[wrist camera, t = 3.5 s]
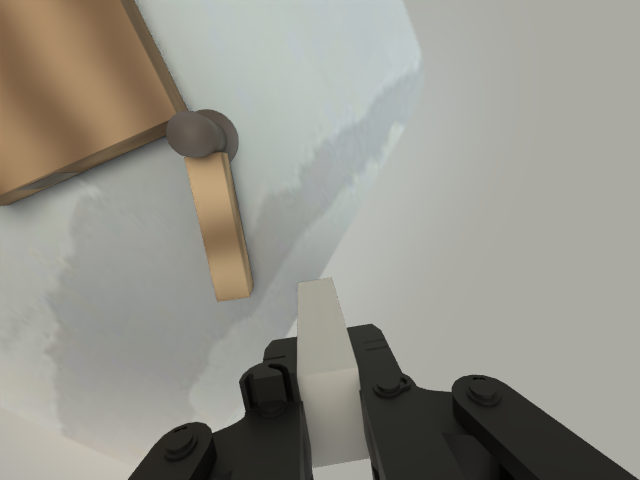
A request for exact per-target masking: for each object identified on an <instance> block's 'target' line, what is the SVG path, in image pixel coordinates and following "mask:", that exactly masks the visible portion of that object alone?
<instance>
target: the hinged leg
mask: <svg viewBox="0 0 640 480" xmlns="http://www.w3.org/2000/svg"><path fill="white" fill-rule="evenodd" d="M166 136H167V140H168V142H169V144H170V146H171V147H172V148H173V149H174V150H175V151H176V152H177V153H179V154H180V155H183V156H186V157H184V158H185V163H186V167H187V171H188V176H189V180H190V185H191V189H192V193H193V198H194V202H195V206H196V211H197V215H198V219H199V224H200V228H201V233H202V237H203V241H204V246H205V250H206V254H207V259H208V263H209V268H210V272H211V276H212V281H213V285H214V289H215V294H216V298H217V302H220V301H226V300H233V299H239V298H246V297H250V294H251V291H252V288H253V286H254V285H253V280H252V275H251V270H250V265H249V260H248V255H247V250H246V245H245V240H244V235H243V230H242V225H241V219H240V214H239V209H238V204H237V199H236V194H235V189H234V184H233V179H232V174H231V169H230V164H229V159H228V154H227V153H222V152H223V151H224V149H225V147H226V135H225V132H224V130H223V129H222V127H221V126H220V125H218V124H217V123H215V122H213V121H211V120H209V119H208V118H206V117H204V116H202V115H200V114H198V113H196V112H193V111H181V112H178V113H176V114H175V115H173V116H172V117H171V119H170V120H169V122H168V124H167V128H166Z"/></svg>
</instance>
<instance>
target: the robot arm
mask: <svg viewBox="0 0 640 480" xmlns="http://www.w3.org/2000/svg"><path fill="white" fill-rule="evenodd" d="M297 322H298V323H297V330H298V331H297V337H292V338H285V339H279V340H273V341H272V342H271V343H270V344H269V345H268V347H267V348H266V349H265V352H264V358H263V363H260V364H258V365H256V366H254V367H252V368H250V369H249V370H248V371H246V372H245V373H244V374H243V375H242V377H241V379H240V381H239V384H240V388H241V393H242V397H243V402H244V406H245V411H246V412H245V416H244V418H242V419H241V420H240V421H238V422H237V423H235V424H233V425H231V426H229V427H226V428H224V429H222V430H219V431H217V432H214V433H212V431H211V428H209V427H208V426H207V425H206V424H204V423H200V422H193V423H186V424H184V425H181V426H179V427H176V428H174V429H173V430H171V431H170V432H168V433H167V434H165V435H164V436H163V437H162V438H161V439H160V440H159V441H158V442H157V443H156V444H155V445H154V446H153V447H152V449H151V450H150V451H149V453H148V454H147V455H146V457H145V458H144V459H143V460H142V462H141V463H140V464H139V466H138V467H137V468H136V469H135V471H134V472H133V473H132V475H131V476H130V477H129V479H128V480H314V479H313V474H312V465H313V468H314V467H321V466H327V465H332V464H338V463H344V462H350V461H356V460H361V459H368V458H369V456H370V460H371V467H372V475H373V480H639V479H637V478H636V477H634V476H633V475H632V474H630V473H629V472H628V471H626V470H625V469H623V468H622V467H621V466H619V465H618V464H616V463H615V462H614V461H612V460H611V459H609V458H608V457H607V456H605V455H604V454H602V453H601V452H600V451H598V450H597V449H595V448H594V447H593V446H591V445H590V444H588V443H587V442H586V441H584V440H583V439H582V438H580V437H579V436H577V435H576V434H575V433H573V432H572V431H570V430H569V429H568V428H566V427H565V426H564V425H562V424H561V423H559V422H558V421H557V420H555V419H554V418H552V417H551V416H550V415H548V414H547V413H545V412H544V411H543V410H541V409H540V408H538V407H537V406H536V405H534V404H533V403H531V402H530V401H529V400H527V399H526V398H524V397H523V396H522V395H520V394H519V393H518V392H516V391H515V390H513V389H512V388H511V387H509V386H508V385H506V384H505V383H503V382H501V381H499V380H497V379H495V378H491V377H488V376H484V375H469V376H463V377H461V378H459V379H458V380H456V381H455V382H454V384H453V386H452V392H444V391H433V390H426V389H423V388H419V387H417V386H416V384H415V382H414V381H413V380H412V379H411V378H410V377H409V376H407V375H405V374H403V373H402V371H401V369H400V368H399V365H398V363H397V361H396V359H395V357H394V355H393V353H392V351H391V349H390V348H389V345H388V343H387V341H386V340H385V337H384V335H383V333H382V331H381V330H380V329H378V328H377V327H376V326H374V325H373V324H367V325H361V326H355V327H348V328H346V325H345V322H344V318H343V315H342V311H341V308H340V305H339V301H338V297H337V294H336V291H335V287H334V284H333V280H332V278H326V279H319V280H312V281H306V282H299V283H298V321H297Z"/></svg>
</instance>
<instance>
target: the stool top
mask: <svg viewBox="0 0 640 480" xmlns="http://www.w3.org/2000/svg"><path fill="white" fill-rule="evenodd" d="M181 111H188V109H187V107H186V105H185V103H184V101H183V99H182V97H181V95H180V93H179V91H178V89H177V87H176V85H175V83H174V81H173V79H172V77H171V75H170V73H169V71H168V69H167V67H166V65H165V63H164V61H163V58H162V56H161V54H160V52H159V50H158V48H157V46H156V44H155V42H154V40H153V38H152V36H151V34H150V32H149V30H148V28H147V26H146V24H145V22H144V20H143V18H142V16H141V14H140V12H139V10H138V8H137V5H136V3H135V1H134V0H0V206H5V205H9V204H11V203H14V202H16V201H18V200H20V199H23V198H25V197H27V196H29V195H32V194H34V193H36V192H38V191H41V190H43V189H45V188H48V187H50V186H52V185H54V184H57V183H59V182H61V181H63V180H66V179H68V178H70V177H72V176H75V175H77V174H79V173H81V172H84V171H86V170H88V169H90V168H93V167H95V166H97V165H99V164H102V163H104V162H106V161H108V160H111V159H113V158H115V157H117V156H120V155H122V154H124V153H126V152H129V151H131V150H133V149H135V148H138V147H140V146H142V145H145V144H147V143H149V142H151V141H154V140H156V139H158V138H160V137H163V136H165V135H166V128H167V124H168V122H169V120H170V119H171V117H172V116H173V115H175V114H176V113H178V112H181ZM196 113H198V114H200V115H202V116H204V117H206V118H208V119H209V120H211V121H213V122H215V123H217V124H218V125H220V126H221V127H222V129H223V130H224V132H225V135H226V147H225V149H224V151H223V152H222V153H227V154H228V159H229V162H230V161H231V160H232V159H233V157H234V156H235V154H236V152H237V148H238V135H237V132H236V129H235V127H234V125H233V124H232V122H231V121H230V120H229V119H228V118H227V117H226V116H224V115H223V114H221V113H219V112H217V111H214V110H207V109H206V110H199V111H196Z"/></svg>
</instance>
